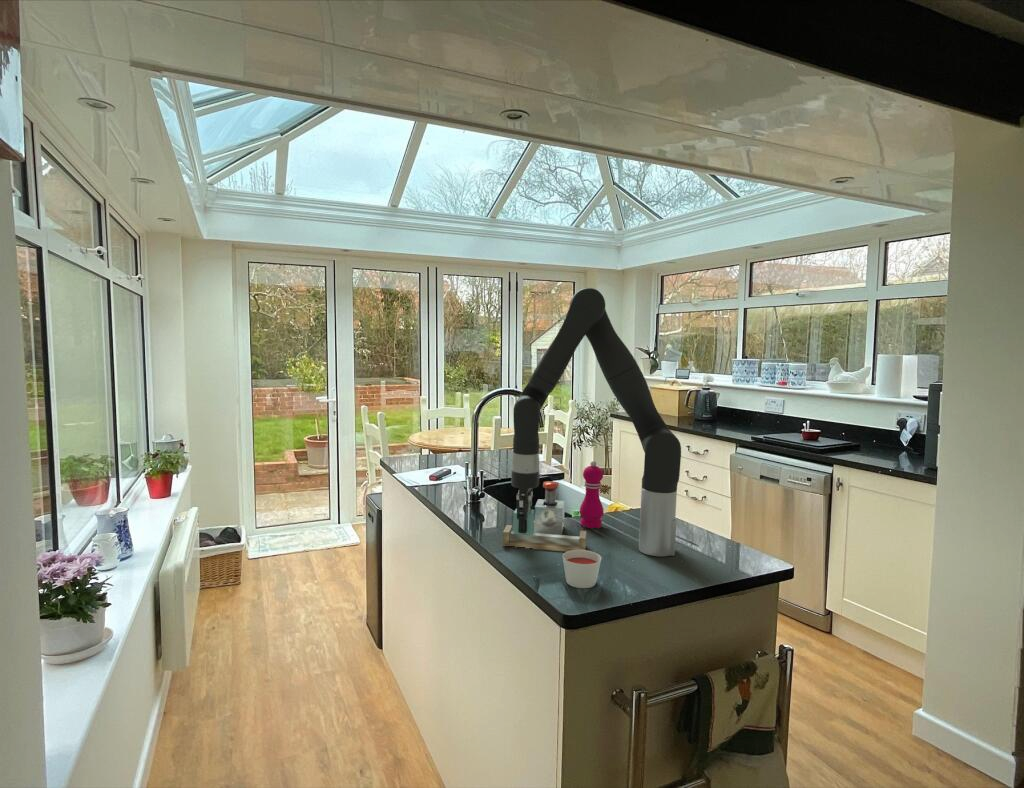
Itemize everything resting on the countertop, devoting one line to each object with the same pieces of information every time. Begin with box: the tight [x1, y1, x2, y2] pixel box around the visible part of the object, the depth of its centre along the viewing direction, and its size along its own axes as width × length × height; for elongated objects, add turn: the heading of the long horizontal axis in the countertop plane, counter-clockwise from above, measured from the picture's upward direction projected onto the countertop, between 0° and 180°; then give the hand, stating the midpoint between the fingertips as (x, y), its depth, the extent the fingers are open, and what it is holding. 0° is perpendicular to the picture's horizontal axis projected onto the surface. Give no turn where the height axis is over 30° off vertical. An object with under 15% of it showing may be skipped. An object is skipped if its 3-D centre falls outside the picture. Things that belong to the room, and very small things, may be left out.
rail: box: [502, 524, 587, 552], centre depth 165 cm, size 22×6×4 cm, turn 81°
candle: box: [562, 549, 602, 589], centre depth 141 cm, size 9×9×6 cm
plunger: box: [542, 480, 559, 506], centre depth 177 cm, size 4×4×9 cm
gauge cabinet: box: [533, 498, 566, 535], centre depth 177 cm, size 8×8×8 cm
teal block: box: [513, 507, 535, 536], centre depth 165 cm, size 5×4×6 cm
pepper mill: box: [579, 460, 604, 529], centre depth 182 cm, size 7×7×20 cm
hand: (523, 529), depth 165 cm, fingers closed on teal block, 4 cm apart
